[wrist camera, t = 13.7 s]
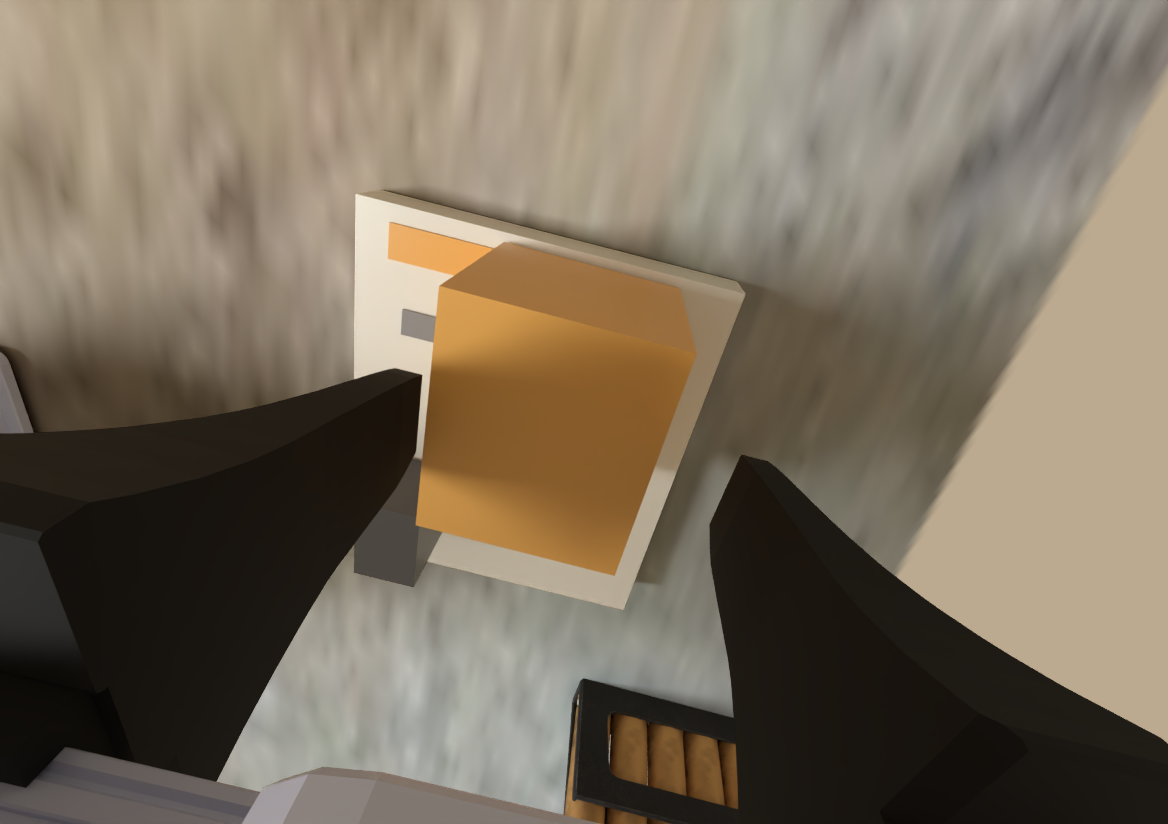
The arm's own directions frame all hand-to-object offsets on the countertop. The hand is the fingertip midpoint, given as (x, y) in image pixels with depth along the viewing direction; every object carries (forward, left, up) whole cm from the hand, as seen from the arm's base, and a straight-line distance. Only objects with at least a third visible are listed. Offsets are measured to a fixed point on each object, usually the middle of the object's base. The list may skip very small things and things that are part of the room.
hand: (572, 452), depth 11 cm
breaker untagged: (-5, -6, -5) cm, 9 cm away
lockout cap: (-1, 0, -5) cm, 5 cm away
